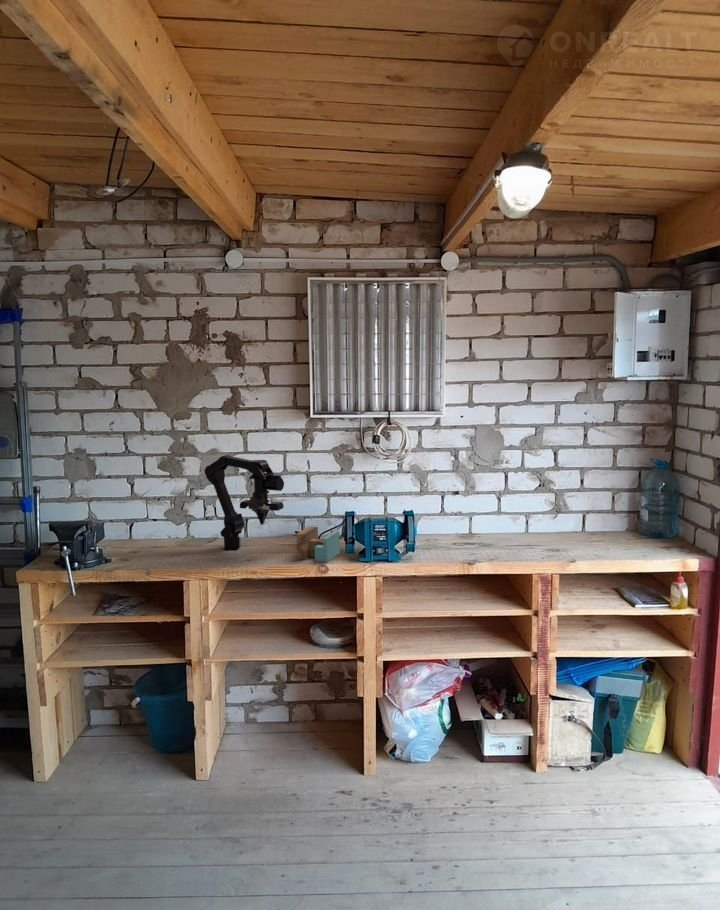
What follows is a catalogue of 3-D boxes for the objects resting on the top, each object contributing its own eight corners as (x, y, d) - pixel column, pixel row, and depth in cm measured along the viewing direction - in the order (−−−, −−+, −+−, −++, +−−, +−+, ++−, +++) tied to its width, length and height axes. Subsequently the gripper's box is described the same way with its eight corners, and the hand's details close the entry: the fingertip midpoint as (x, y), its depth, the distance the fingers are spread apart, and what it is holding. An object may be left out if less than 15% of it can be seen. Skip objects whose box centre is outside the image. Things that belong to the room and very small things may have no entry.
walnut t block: (297, 559, 268) (296, 533, 266) (310, 550, 280) (309, 526, 278) (323, 561, 264) (322, 535, 262) (335, 552, 276) (334, 528, 274)
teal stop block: (314, 561, 264) (314, 537, 263) (328, 551, 277) (327, 529, 276) (327, 562, 262) (326, 538, 261) (339, 552, 276) (339, 530, 274)
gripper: (232, 491, 270) (233, 527, 272) (271, 493, 264) (272, 530, 266) (245, 486, 281) (247, 521, 283) (283, 489, 274) (284, 524, 276)
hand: (262, 524), depth 277 cm, fingers closed
